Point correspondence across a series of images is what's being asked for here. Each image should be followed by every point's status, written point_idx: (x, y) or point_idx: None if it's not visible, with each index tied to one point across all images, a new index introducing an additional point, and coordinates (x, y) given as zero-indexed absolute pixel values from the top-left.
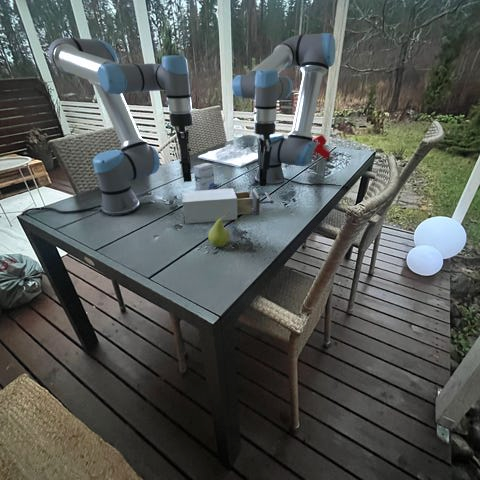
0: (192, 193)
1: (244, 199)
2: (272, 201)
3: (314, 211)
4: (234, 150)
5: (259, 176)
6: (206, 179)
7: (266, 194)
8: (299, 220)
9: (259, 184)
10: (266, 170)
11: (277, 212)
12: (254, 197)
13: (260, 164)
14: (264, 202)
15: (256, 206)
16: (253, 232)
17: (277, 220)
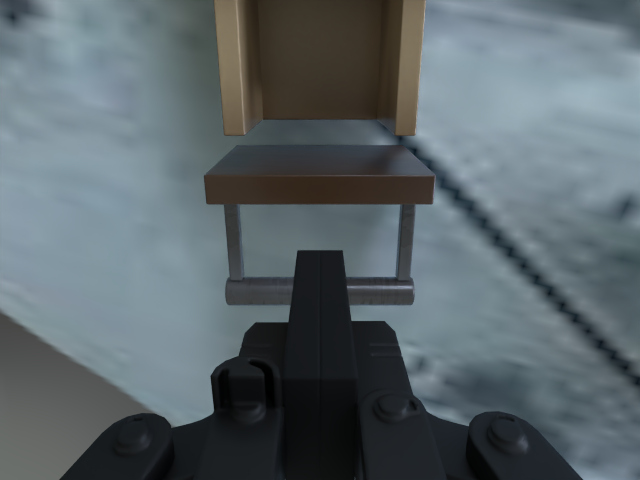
0: None
1: (218, 38)
2: (226, 296)
3: None
4: None
5: (316, 307)
6: None
7: (374, 285)
8: (169, 378)
9: (305, 258)
10: (286, 464)
11: None
12: (320, 166)
13: (363, 471)
14: (227, 232)
15: (235, 157)
16: (16, 71)
17: (178, 265)
